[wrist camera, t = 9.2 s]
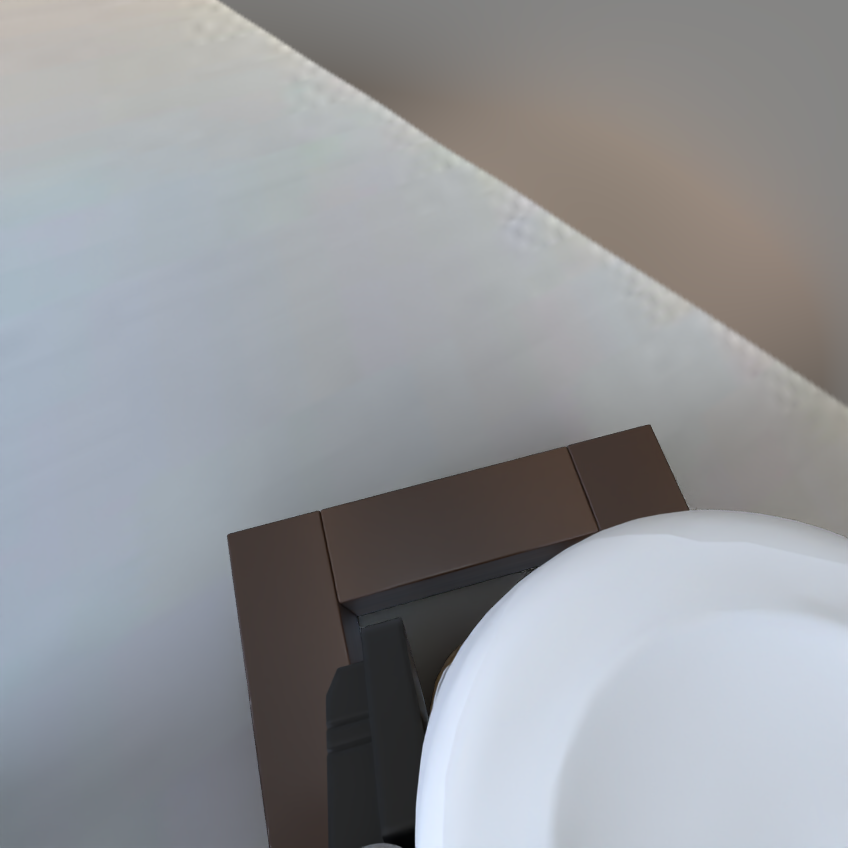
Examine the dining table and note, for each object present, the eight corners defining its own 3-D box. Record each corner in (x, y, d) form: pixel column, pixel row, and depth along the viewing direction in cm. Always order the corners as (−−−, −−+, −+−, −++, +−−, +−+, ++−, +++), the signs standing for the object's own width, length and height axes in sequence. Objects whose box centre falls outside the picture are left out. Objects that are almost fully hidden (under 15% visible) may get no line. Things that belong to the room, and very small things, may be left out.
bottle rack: (610, 468, 20) (650, 423, 16) (780, 880, 15) (890, 947, 12) (265, 560, 19) (226, 533, 15) (341, 1032, 14) (310, 1157, 11)
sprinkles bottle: (398, 743, 15) (243, 1035, 3) (484, 593, 17) (615, 385, 5) (551, 856, 14) (1245, 1984, 2) (629, 686, 16) (1310, 743, 4)
